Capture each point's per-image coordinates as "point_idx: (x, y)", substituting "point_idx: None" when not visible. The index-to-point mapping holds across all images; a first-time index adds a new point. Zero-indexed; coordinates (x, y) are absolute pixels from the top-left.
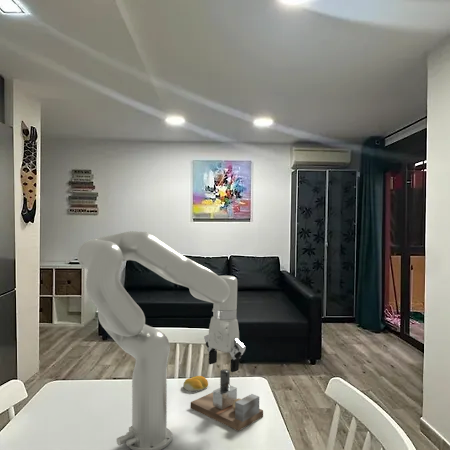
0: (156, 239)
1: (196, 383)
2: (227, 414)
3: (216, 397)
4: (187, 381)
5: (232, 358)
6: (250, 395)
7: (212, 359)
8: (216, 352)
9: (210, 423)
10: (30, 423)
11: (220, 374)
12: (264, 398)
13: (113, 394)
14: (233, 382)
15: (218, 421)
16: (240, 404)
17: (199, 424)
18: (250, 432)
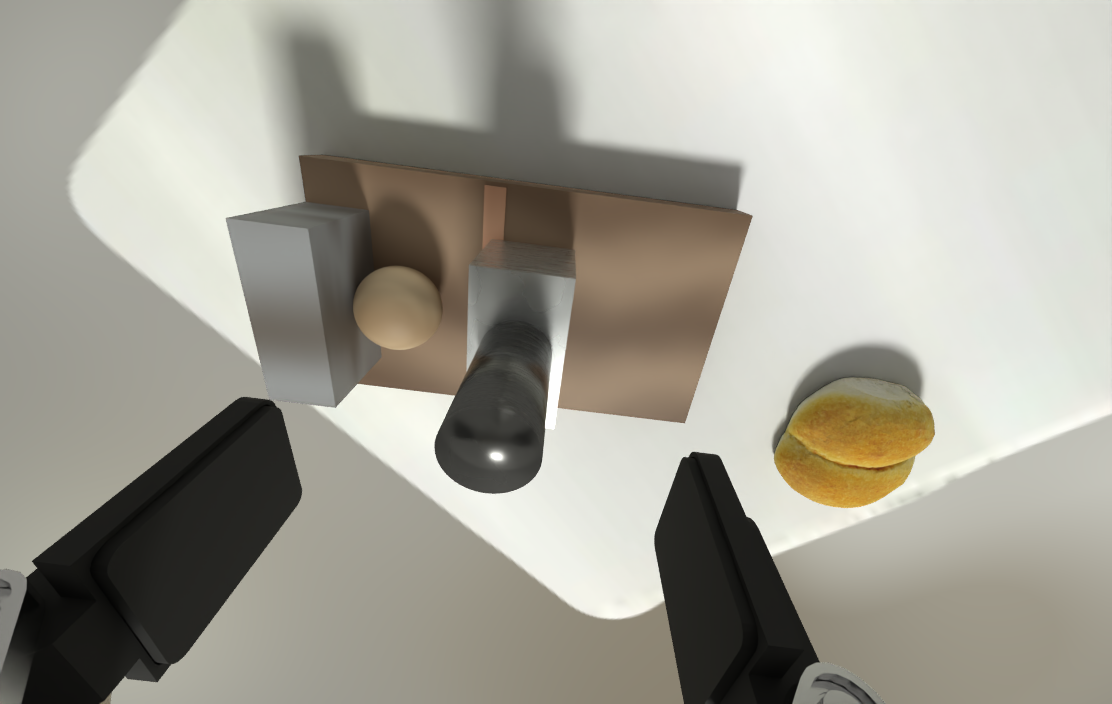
0: None
1: (839, 427)
2: (439, 223)
3: (538, 263)
4: (911, 417)
5: (21, 598)
6: (320, 382)
7: (688, 533)
8: (685, 693)
9: (509, 123)
10: None
11: (528, 401)
12: (466, 499)
13: None
14: None
15: (485, 176)
16: (252, 221)
17: (558, 60)
18: (269, 187)
